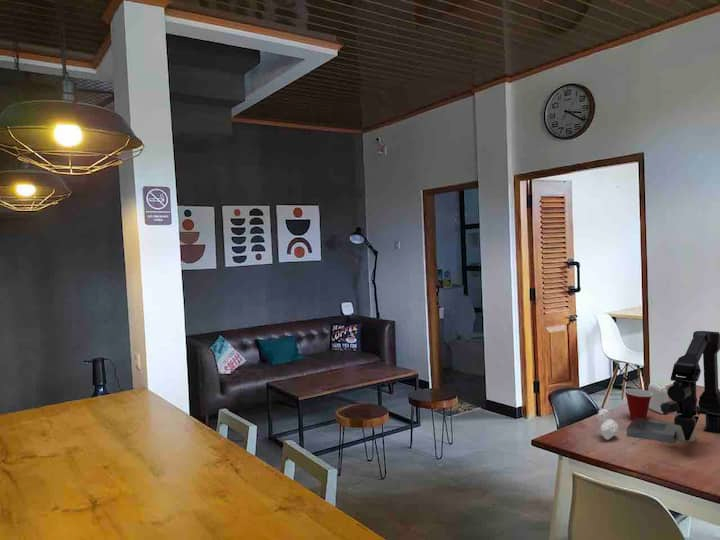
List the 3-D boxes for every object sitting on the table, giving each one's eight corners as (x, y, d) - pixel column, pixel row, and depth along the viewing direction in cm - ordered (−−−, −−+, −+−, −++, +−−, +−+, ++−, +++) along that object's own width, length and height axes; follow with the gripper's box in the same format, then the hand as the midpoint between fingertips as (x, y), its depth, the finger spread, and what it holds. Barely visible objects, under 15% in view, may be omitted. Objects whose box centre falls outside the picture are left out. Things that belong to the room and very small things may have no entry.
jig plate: (635, 424, 226) (635, 417, 225) (679, 431, 216) (679, 423, 216) (626, 435, 213) (626, 428, 213) (673, 443, 203) (673, 435, 203)
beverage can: (693, 438, 208) (692, 407, 208) (696, 444, 203) (695, 412, 202) (674, 436, 211) (673, 406, 211) (676, 442, 205) (675, 411, 205)
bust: (615, 444, 204) (615, 415, 204) (594, 441, 209) (593, 412, 208) (621, 434, 214) (620, 406, 214) (600, 431, 219) (600, 404, 218)
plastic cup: (652, 424, 224) (652, 395, 224) (623, 421, 230) (622, 393, 230) (654, 417, 234) (653, 389, 233) (626, 413, 239) (625, 386, 239)
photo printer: (647, 408, 247) (646, 380, 246) (656, 407, 247) (655, 380, 246) (661, 414, 236) (660, 386, 236) (670, 414, 237) (670, 386, 236)
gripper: (665, 387, 208) (666, 427, 209) (657, 399, 194) (658, 442, 194) (700, 390, 202) (700, 432, 202) (694, 403, 187) (694, 448, 187)
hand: (687, 438), depth 197 cm, fingers open, 4 cm apart
